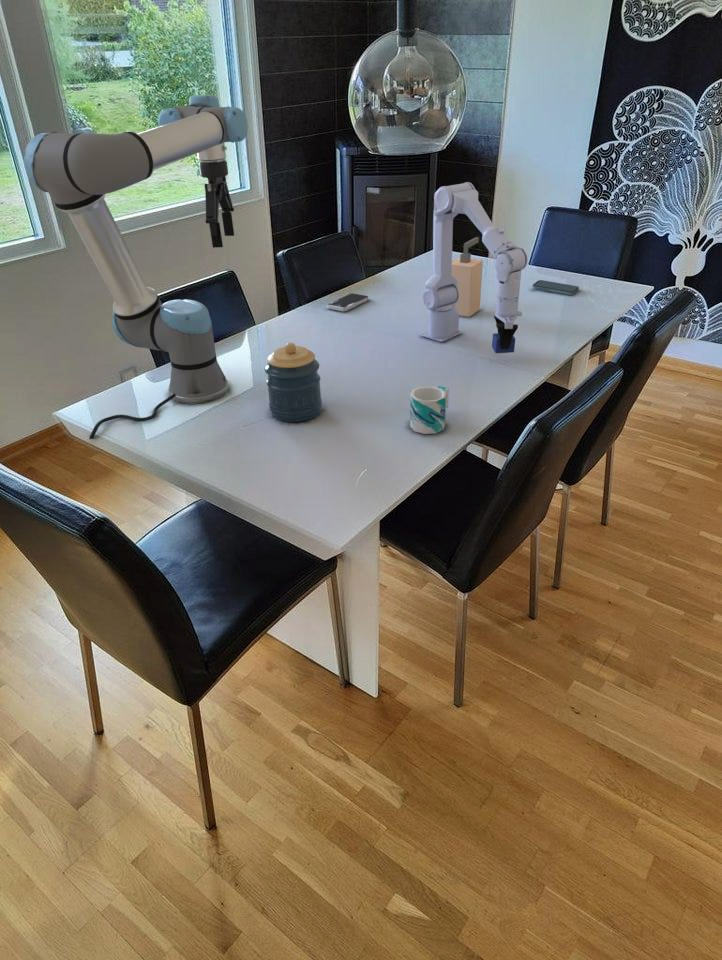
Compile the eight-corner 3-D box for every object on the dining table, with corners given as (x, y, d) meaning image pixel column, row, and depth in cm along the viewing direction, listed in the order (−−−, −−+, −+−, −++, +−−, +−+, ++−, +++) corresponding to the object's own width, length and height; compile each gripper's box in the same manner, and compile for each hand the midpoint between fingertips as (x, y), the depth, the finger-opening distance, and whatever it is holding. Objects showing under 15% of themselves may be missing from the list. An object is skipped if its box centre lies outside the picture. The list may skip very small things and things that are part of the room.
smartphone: (369, 296, 236) (344, 308, 226) (369, 300, 237) (344, 312, 227) (351, 293, 240) (326, 304, 230) (351, 296, 241) (326, 308, 230)
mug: (404, 428, 156) (404, 396, 152) (428, 408, 165) (428, 376, 160) (435, 436, 153) (436, 403, 148) (458, 415, 161) (460, 383, 156)
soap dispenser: (469, 317, 218) (472, 247, 206) (445, 313, 222) (447, 244, 210) (485, 305, 227) (489, 238, 215) (462, 302, 231) (465, 236, 219)
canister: (275, 426, 159) (266, 357, 150) (266, 403, 170) (257, 337, 160) (328, 418, 162) (323, 349, 153) (316, 396, 173) (310, 330, 163)
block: (514, 352, 183) (515, 338, 181) (495, 353, 183) (496, 339, 181) (510, 346, 187) (511, 332, 185) (491, 347, 187) (492, 333, 185)
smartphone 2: (573, 292, 232) (531, 284, 239) (572, 296, 233) (531, 289, 240) (579, 286, 237) (539, 279, 244) (579, 290, 238) (538, 283, 245)
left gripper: (214, 167, 171) (226, 252, 183) (236, 153, 192) (246, 230, 203) (185, 167, 172) (199, 252, 183) (211, 154, 193) (221, 231, 204)
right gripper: (526, 305, 171) (521, 355, 178) (519, 287, 183) (515, 335, 190) (498, 305, 171) (494, 355, 179) (493, 288, 183) (490, 335, 191)
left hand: (223, 241), depth 193 cm, fingers open, 13 cm apart
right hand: (503, 345), depth 184 cm, fingers closed on block, 5 cm apart
